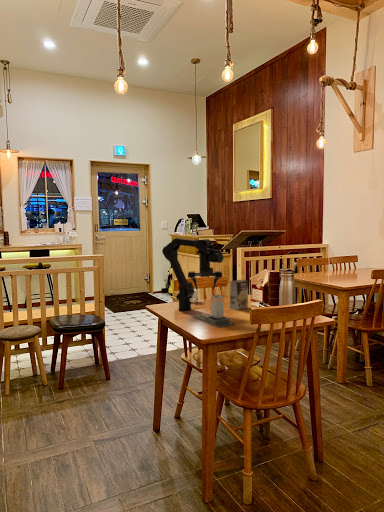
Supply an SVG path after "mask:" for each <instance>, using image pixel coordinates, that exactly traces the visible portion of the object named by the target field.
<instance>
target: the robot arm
mask: <svg viewBox="0 0 384 512" xmlns="http://www.w3.org/2000/svg"><path fill="white" fill-rule="evenodd" d="M181 246H184V247H193V248H195V249H198V250H197V251H196V254H199V272H196V271H194V270H193V271H188V272H187V278H190V280H192V281H193V283H194V285H193V283H192V282H189V281H188V280H187V278H186V275H185V273H184V271H183V268H182V266H181V264H180V262H179V259H178V258H179V257H178V256H179V255H178V254H179V252H178V250H179V249H180V247H181ZM161 251H162V255H163V256H164V258H165V260H166V261H168V262H169V263H170V266H171V268H172V270H173V273H174V275H175V278H176V281H177V283H178V293H177V294H176V296H175V299H176V300H177V301H178V311H187V312H188V311H191V309H192V303H191V302H192V301H190V298H192V296H193V294H194V289H196V290H198V283H197V277H201V278H210V277H213V283H212V284H213V285H212V290H213V291H214V290H215V287H216V284H217V281H218V280H220V278H223V272H222V271H221V270H219V271H218V270H216V271H215V270H214V267H211V263H215V264H217V263H218V264H221V263H223V261H224V255H223V254H224V253H223V252H222V249H218V250H216V248H215V246H214V245H213V244H212V241H211V240H210V238H203V239H192V238H191V239H188V238H180V237H177V238H176V237H175V238H173V240H172V241H170V242H169V243H168V244H166V245H165V246H164V247H163V248H162V250H161Z"/></svg>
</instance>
